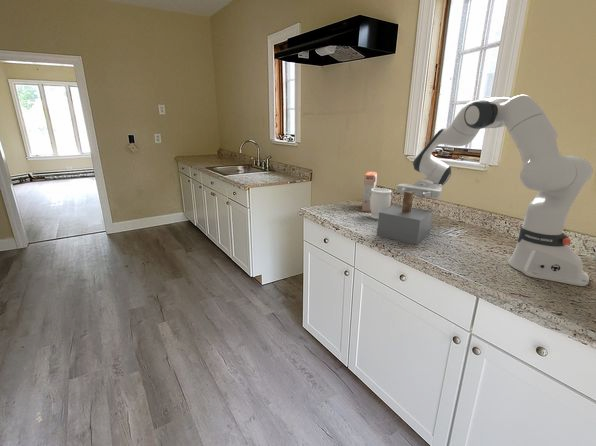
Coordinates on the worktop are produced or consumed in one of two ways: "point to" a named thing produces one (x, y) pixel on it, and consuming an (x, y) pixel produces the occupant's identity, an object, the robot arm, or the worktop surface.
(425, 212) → the lid
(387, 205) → the jar
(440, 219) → the worktop surface
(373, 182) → the cracker box
